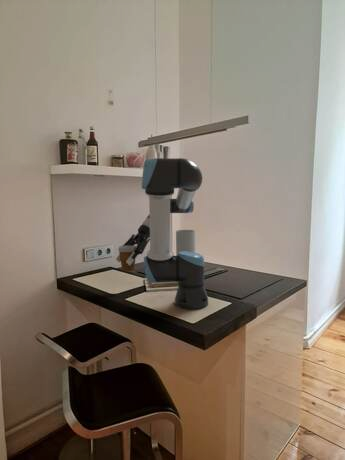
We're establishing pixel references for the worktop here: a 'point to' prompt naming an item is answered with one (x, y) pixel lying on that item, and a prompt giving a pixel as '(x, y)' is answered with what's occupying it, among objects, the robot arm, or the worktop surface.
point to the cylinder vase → (185, 241)
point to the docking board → (160, 286)
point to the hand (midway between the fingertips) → (122, 262)
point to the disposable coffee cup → (126, 257)
